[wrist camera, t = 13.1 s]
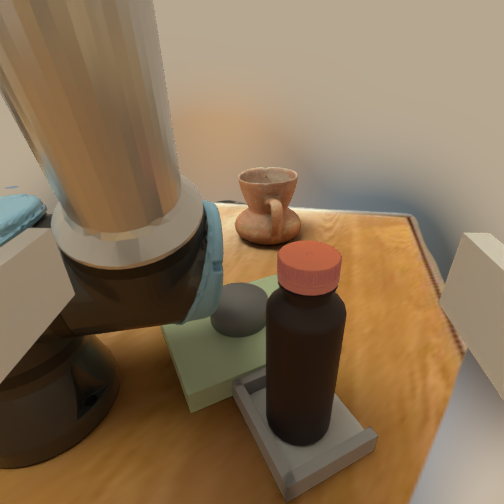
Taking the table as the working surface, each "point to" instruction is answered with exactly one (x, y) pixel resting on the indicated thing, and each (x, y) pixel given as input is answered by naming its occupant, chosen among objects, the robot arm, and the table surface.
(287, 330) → the vinegar
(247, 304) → the green slab with knob
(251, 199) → the ceramic jug
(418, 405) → the table surface
